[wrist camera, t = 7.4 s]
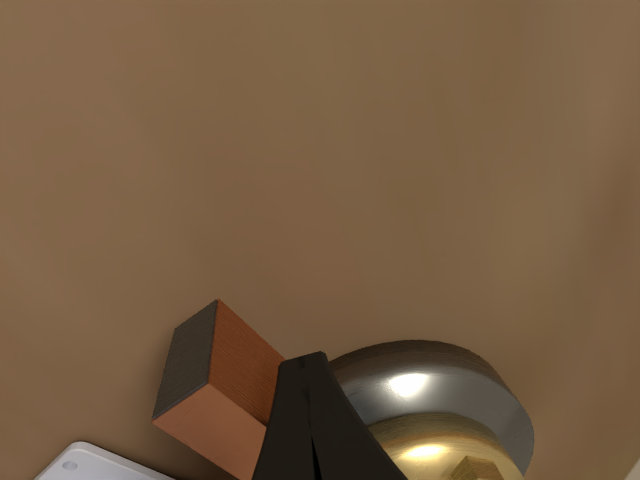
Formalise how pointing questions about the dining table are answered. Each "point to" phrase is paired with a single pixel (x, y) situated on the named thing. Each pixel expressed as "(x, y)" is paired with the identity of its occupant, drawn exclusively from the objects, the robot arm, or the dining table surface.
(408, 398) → the rounded grey metal base
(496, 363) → the dining table surface
